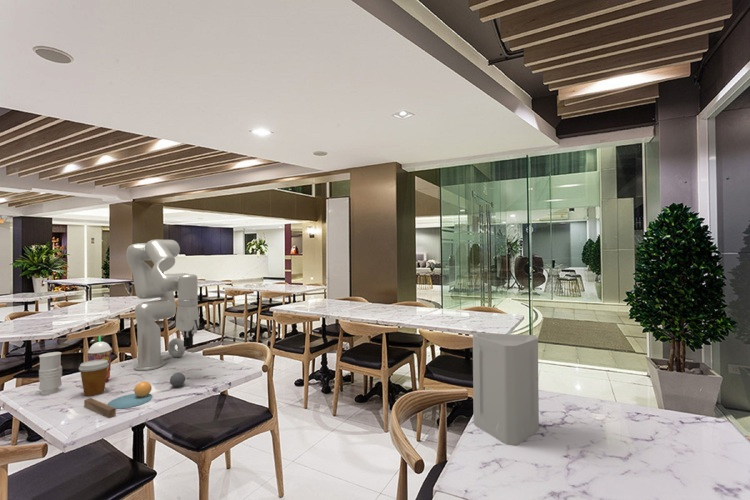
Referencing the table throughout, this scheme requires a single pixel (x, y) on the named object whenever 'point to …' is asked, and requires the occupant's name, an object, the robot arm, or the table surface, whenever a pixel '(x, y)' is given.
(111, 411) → the wall
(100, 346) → the smoothie
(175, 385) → the grey ball
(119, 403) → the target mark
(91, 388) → the disposable coffee cup
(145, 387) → the object ball
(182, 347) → the donut
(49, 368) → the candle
